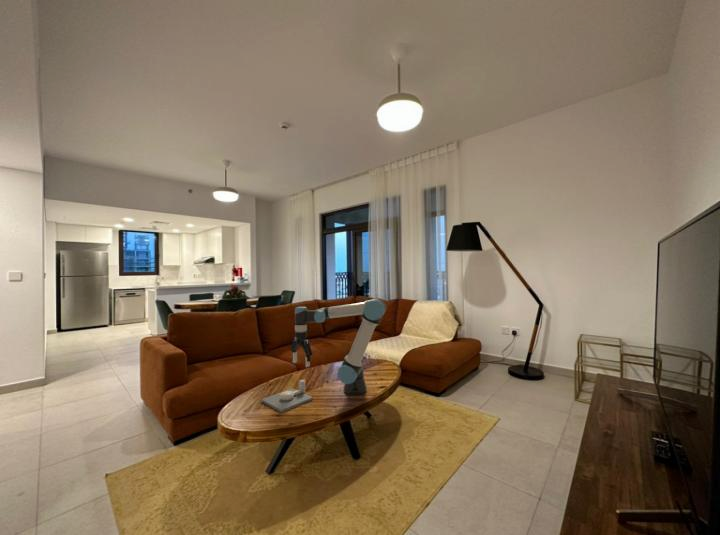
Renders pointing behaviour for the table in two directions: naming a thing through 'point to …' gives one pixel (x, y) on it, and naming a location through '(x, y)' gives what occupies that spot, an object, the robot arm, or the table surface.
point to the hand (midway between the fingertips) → (301, 364)
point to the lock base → (282, 405)
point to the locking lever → (290, 394)
